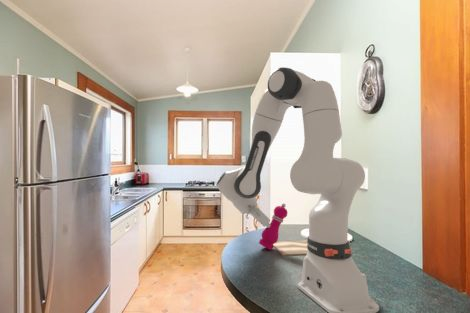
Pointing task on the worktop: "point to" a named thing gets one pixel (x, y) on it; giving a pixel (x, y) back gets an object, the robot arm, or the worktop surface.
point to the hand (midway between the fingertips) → (268, 225)
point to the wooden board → (291, 247)
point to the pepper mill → (273, 227)
